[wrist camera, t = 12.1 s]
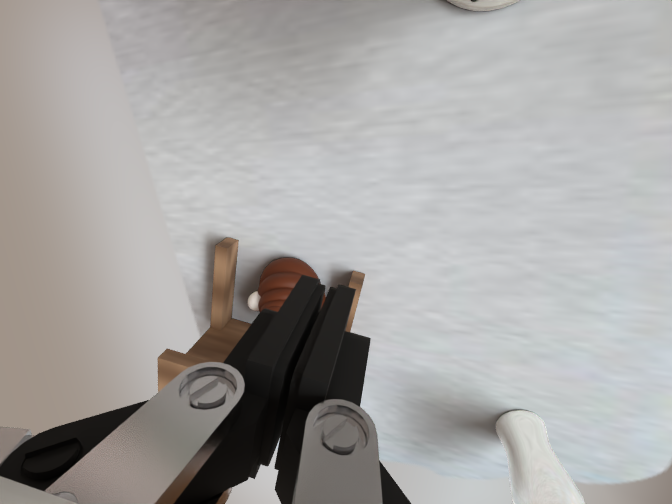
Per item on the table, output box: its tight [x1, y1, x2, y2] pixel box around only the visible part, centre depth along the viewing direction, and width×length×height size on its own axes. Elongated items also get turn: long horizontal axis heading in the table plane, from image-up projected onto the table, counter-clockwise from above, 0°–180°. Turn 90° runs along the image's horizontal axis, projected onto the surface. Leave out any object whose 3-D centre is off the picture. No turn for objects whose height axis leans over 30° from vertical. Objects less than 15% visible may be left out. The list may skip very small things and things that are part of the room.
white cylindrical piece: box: [496, 410, 586, 504], centre depth 39 cm, size 7×7×15 cm
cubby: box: [158, 237, 365, 392], centre depth 39 cm, size 14×18×14 cm
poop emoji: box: [247, 258, 326, 312], centre depth 40 cm, size 10×8×9 cm
